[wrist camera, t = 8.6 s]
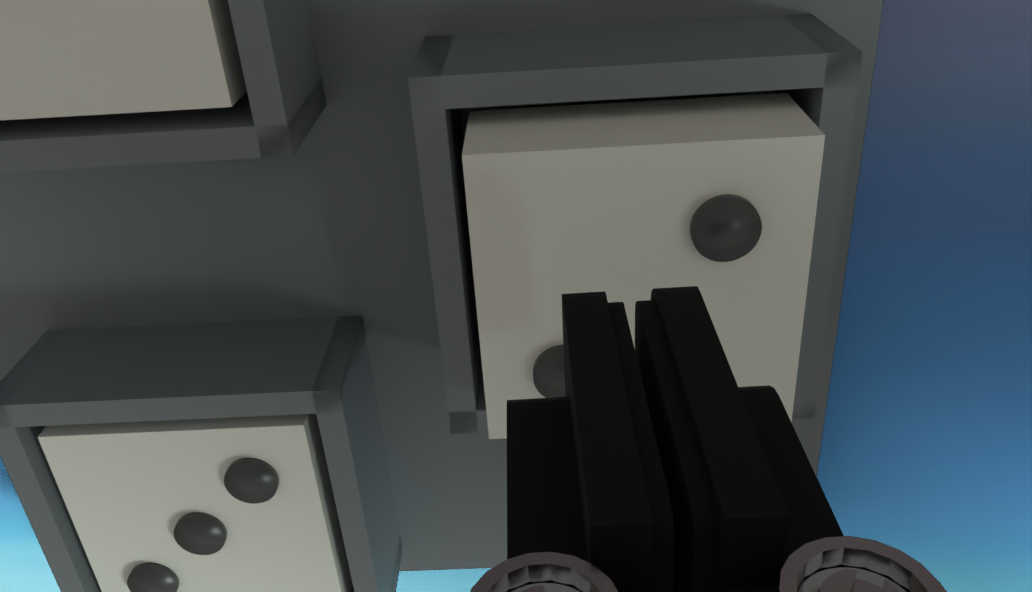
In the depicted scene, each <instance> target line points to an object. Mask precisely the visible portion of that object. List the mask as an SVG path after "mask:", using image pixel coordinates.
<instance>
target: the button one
mask: <svg viewBox="0 0 1032 592" xmlns="http://www.w3.org/2000/svg"><path fill="white" fill-rule="evenodd" d="M246 92H247V89H246V84H245V79H244V75H243V70H242V65H241V61H240V56H239V51H238V47H237V42H236V37H235V33H234V28H233V23H232V19H231V14H230V9H229V5H228V0H0V120H16V119H34V118H51V117H68V116H85V115H103V114H120V113H137V112H155V111H172V110H189V109H206V108H224V107H232V106H233V105H234V104H235V103H236V102H237V101H238V100H239V99H240V98H241V97H242V96H243V95H244V94H245V93H246Z"/></svg>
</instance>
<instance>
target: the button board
mask: <svg viewBox="0 0 1032 592" xmlns="http://www.w3.org/2000/svg"><path fill="white" fill-rule="evenodd" d="M228 5H229V9H230V14H231V19H232V23H233V28H234V33H235V37H236V42H237V47H238V51H239V56H240V61H241V65H242V70H243V75H244V79H245V84H246V89H247V92H246V93H245V94H244V95H243V96H242V97H241V98H240V99H239V100H238V101H237V102H236V103H235V104H234V105H233V106H232V107H224V108H206V109H189V110H172V111H155V112H137V113H120V114H103V115H85V116H68V117H51V118H34V119H16V120H0V457H1V459H2V461H3V463H4V466H5V468H6V470H7V472H8V475H9V477H10V479H11V481H12V483H13V486H14V488H15V490H16V492H17V495H18V497H19V499H20V501H21V504H22V506H23V508H24V510H25V512H26V515H27V517H28V519H29V521H30V524H31V526H32V528H33V530H34V533H35V535H36V537H37V539H38V541H39V544H40V546H41V548H42V550H43V553H44V555H45V557H46V559H47V562H48V564H49V566H50V568H51V570H52V573H53V575H54V577H55V579H56V582H57V584H58V586H59V588H60V591H61V592H102V591H101V589H100V586H99V584H98V581H97V579H96V577H95V574H94V572H93V569H92V567H91V565H90V562H89V560H88V557H87V555H86V552H85V550H84V548H83V545H82V543H81V540H80V538H79V536H78V533H77V531H76V528H75V526H74V524H73V521H72V519H71V516H70V514H69V512H68V509H67V507H66V504H65V502H64V500H63V497H62V495H61V492H60V490H59V488H58V485H57V483H56V480H55V478H54V476H53V473H52V471H51V468H50V466H49V464H48V461H47V459H46V456H45V454H44V451H43V449H42V447H41V444H40V442H39V439H38V436H39V435H40V433H41V432H42V431H43V429H44V428H45V427H46V426H53V425H75V424H97V423H119V422H141V421H163V420H186V419H208V418H230V417H252V416H274V415H296V414H316V415H317V420H318V424H319V429H320V434H321V438H322V443H323V448H324V452H325V457H326V461H327V466H328V471H329V475H330V480H331V485H332V489H333V494H334V499H335V503H336V508H337V513H338V517H339V522H340V527H341V531H342V536H343V541H344V545H345V550H346V555H347V559H348V564H349V569H350V573H351V578H352V588H351V592H396V587H397V581H398V575H399V571H419V570H445V569H471V568H493V567H495V566H497V565H498V564H500V563H502V562H503V561H505V560H507V438H503V439H489V434H488V423H487V413H486V402H485V392H484V381H483V371H482V361H481V350H480V340H479V329H478V319H477V308H476V298H475V287H474V277H473V267H472V256H471V246H470V235H469V225H468V214H467V204H466V193H465V183H464V173H463V162H462V151H463V146H464V140H465V134H466V128H467V122H468V117H469V111H480V110H497V109H515V108H532V107H550V106H567V105H585V104H602V103H620V102H637V101H655V100H672V99H690V98H707V97H725V96H742V95H760V94H777V93H787V94H788V95H789V96H790V97H791V98H792V99H793V100H794V101H795V102H796V104H797V105H798V106H799V107H800V108H801V109H802V110H803V111H804V112H805V113H806V115H807V116H808V117H809V118H810V119H811V120H812V121H813V122H814V123H815V124H816V126H817V127H818V128H819V129H820V130H821V131H822V132H823V133H824V134H825V142H824V150H823V159H822V167H821V175H820V184H819V193H818V201H817V210H816V218H815V227H814V235H813V244H812V252H811V261H810V269H809V277H808V286H807V295H806V303H805V312H804V320H803V329H802V337H801V346H800V354H799V363H798V371H797V380H796V388H795V397H794V405H793V414H792V422H791V423H792V425H793V427H794V429H795V431H796V434H797V436H798V438H799V440H800V442H801V444H802V447H803V449H804V451H805V453H806V455H807V458H808V460H809V462H810V464H811V466H812V468H813V471H814V473H815V475H816V476H817V469H818V462H819V455H820V448H821V441H822V434H823V426H824V419H825V412H826V405H827V398H828V391H829V384H830V377H831V370H832V362H833V355H834V348H835V341H836V334H837V327H838V320H839V313H840V306H841V298H842V291H843V284H844V277H845V270H846V263H847V256H848V249H849V241H850V234H851V227H852V220H853V213H854V206H855V199H856V192H857V185H858V177H859V170H860V163H861V156H862V149H863V142H864V135H865V128H866V121H867V113H868V106H869V99H870V92H871V85H872V78H873V71H874V64H875V56H876V49H877V42H878V35H879V28H880V21H881V14H882V7H883V0H228Z"/></svg>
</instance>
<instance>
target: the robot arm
mask: <svg viewBox="0 0 1032 592" xmlns="http://www.w3.org/2000/svg"><path fill="white" fill-rule="evenodd" d="M562 324H563V349H564V374H565V397H554V398H536V399H518V400H507V560H505V561H503V562H502V563H500V564H498V565H497V566H495V567H493V568H492V569H490V570H489V571H487V572H486V573H485V574H484V575H483V576H482V577H481V578H480V580H479V581H478V582H477V583H476V584H475V585H474V586H473V587H472V589H471V592H947V591H946V590H945V589H944V587H943V586H942V585H941V583H940V582H939V581H938V580H937V579H936V578H935V577H934V576H933V575H932V574H931V573H930V572H929V571H928V570H927V569H926V568H925V567H924V566H923V565H922V564H921V563H919V562H918V561H916V560H914V559H913V558H911V557H910V556H908V555H907V554H905V553H904V552H902V551H900V550H898V549H896V548H893V547H891V546H888V545H885V544H883V543H880V542H878V541H875V540H869V539H863V538H858V537H852V536H843V534H842V531H841V529H840V527H839V525H838V523H837V521H836V518H835V516H834V514H833V512H832V510H831V508H830V505H829V503H828V501H827V499H826V497H825V494H824V492H823V490H822V488H821V486H820V484H819V481H818V479H817V477H816V475H815V473H814V471H813V468H812V466H811V464H810V462H809V460H808V458H807V455H806V453H805V451H804V449H803V447H802V444H801V442H800V440H799V438H798V436H797V434H796V431H795V429H794V427H793V425H792V423H791V421H790V418H789V416H788V414H787V412H786V410H785V408H784V405H783V403H782V401H781V399H780V397H779V395H778V393H777V392H776V390H775V388H774V387H772V386H770V385H767V386H749V387H738V385H737V383H736V380H735V378H734V375H733V373H732V370H731V368H730V365H729V363H728V360H727V358H726V355H725V353H724V350H723V348H722V345H721V343H720V340H719V337H718V335H717V332H716V330H715V327H714V325H713V322H712V320H711V317H710V315H709V312H708V310H707V307H706V305H705V302H704V300H703V297H702V295H701V292H700V290H699V288H698V286H689V287H671V288H654V289H652V291H651V300H645V301H636V304H635V349H634V344H633V340H632V336H631V332H630V327H629V323H628V319H627V315H626V311H625V306H624V303H623V302H611V303H608V301H607V296H606V292H605V291H603V292H586V293H569V294H562Z"/></svg>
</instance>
